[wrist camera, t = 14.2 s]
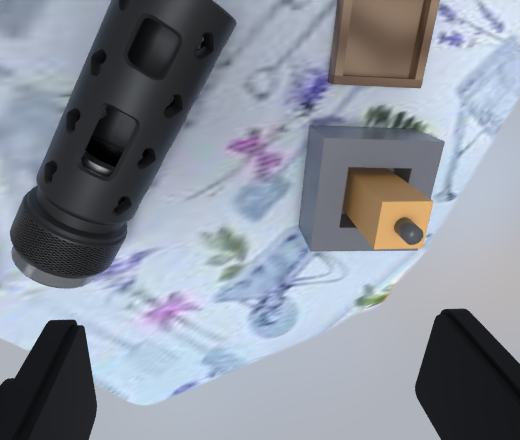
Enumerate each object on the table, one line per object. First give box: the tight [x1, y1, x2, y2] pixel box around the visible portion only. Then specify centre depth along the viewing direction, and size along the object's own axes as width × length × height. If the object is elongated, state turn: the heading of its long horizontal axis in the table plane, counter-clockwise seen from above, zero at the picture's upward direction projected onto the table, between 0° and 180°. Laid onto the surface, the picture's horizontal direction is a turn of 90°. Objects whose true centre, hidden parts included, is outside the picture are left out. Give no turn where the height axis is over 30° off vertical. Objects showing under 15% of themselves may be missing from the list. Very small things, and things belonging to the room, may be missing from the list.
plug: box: [342, 167, 433, 249], centre depth 37 cm, size 4×4×12 cm
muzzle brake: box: [10, 0, 236, 289], centre depth 35 cm, size 10×28×10 cm, turn 148°
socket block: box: [299, 125, 445, 251], centre depth 42 cm, size 12×12×6 cm
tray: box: [328, 0, 440, 88], centre depth 38 cm, size 9×9×2 cm
